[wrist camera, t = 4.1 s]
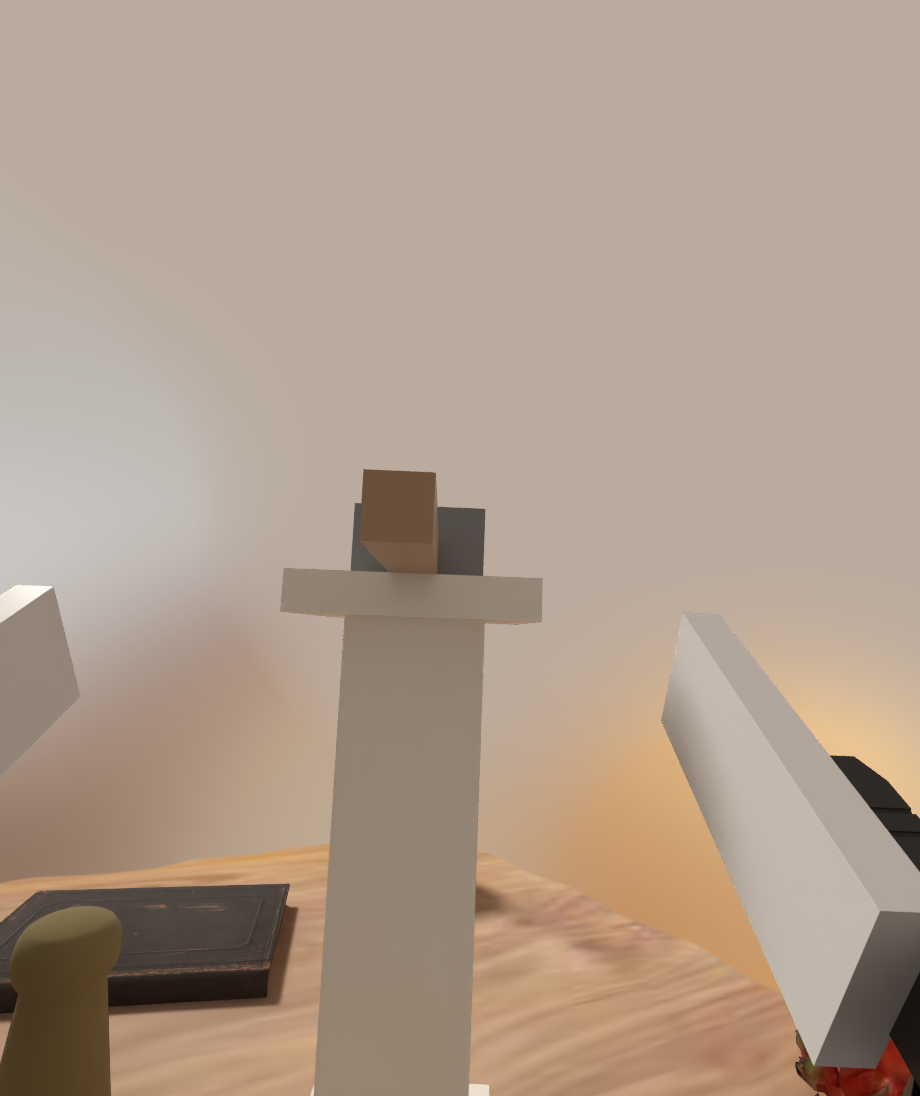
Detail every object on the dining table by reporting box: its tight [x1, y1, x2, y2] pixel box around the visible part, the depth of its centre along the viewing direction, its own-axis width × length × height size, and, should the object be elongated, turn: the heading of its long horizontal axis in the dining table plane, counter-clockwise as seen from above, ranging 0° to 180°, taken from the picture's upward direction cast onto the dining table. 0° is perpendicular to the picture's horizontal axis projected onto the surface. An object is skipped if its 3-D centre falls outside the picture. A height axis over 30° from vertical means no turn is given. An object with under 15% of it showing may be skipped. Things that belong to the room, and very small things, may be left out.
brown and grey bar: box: [351, 469, 485, 576], centre depth 29 cm, size 22×7×4 cm, turn 1°
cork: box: [0, 906, 122, 1096], centre depth 33 cm, size 6×6×11 cm
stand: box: [280, 568, 542, 1096], centre depth 32 cm, size 12×12×30 cm
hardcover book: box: [0, 884, 290, 1013], centre depth 51 cm, size 16×23×2 cm
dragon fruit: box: [795, 1029, 912, 1096], centre depth 35 cm, size 8×8×12 cm
